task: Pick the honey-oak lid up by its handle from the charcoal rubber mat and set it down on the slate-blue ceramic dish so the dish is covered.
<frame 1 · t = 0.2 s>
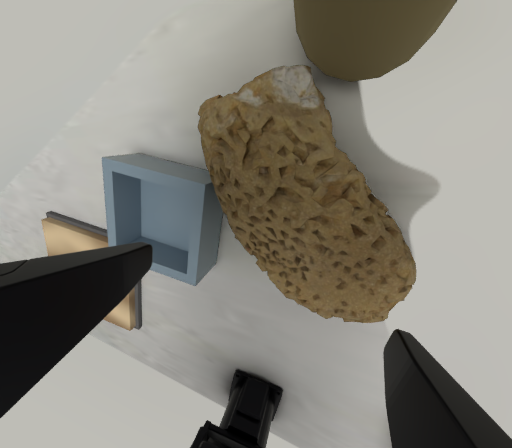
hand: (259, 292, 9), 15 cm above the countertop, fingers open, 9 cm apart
ceramic dish: (179, 210, 26), on the countertop
squeeze bottle: (361, 24, 17), on the countertop
sponge: (310, 200, 22), on the countertop
rubber mat: (98, 271, 33), on the countertop
oak lid: (94, 273, 33), point 1 cm above the countertop, touching rubber mat
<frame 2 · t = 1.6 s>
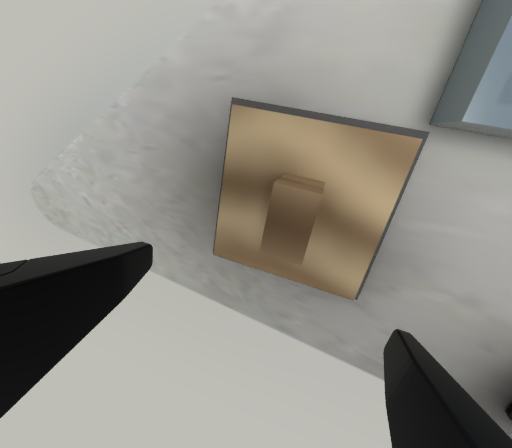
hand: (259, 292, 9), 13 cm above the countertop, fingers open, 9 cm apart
rubber mat: (299, 203, 20), on the countertop
oak lid: (298, 205, 20), point 1 cm above the countertop, touching rubber mat
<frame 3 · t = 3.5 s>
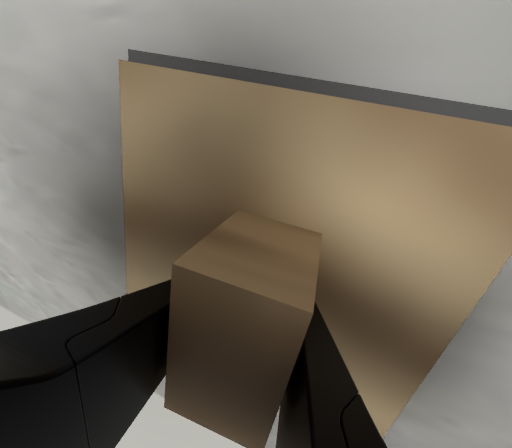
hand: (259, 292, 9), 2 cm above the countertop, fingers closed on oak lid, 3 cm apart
rubber mat: (273, 260, 11), on the countertop
oak lid: (270, 267, 10), point 1 cm above the countertop, touching gripper, rubber mat
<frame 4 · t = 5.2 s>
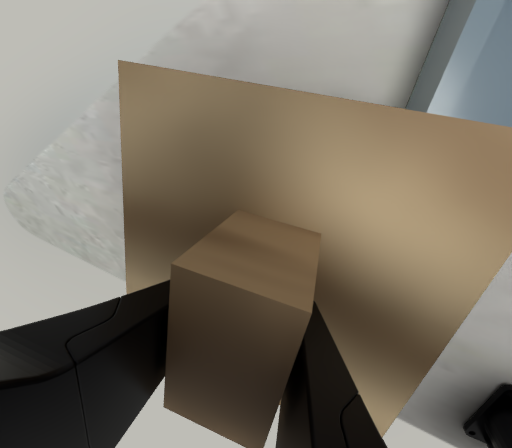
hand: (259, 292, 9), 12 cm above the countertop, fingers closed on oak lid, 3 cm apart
oak lid: (270, 267, 10), point 10 cm above the countertop, touching gripper
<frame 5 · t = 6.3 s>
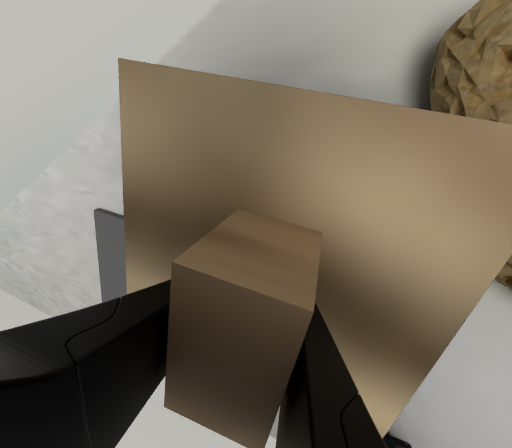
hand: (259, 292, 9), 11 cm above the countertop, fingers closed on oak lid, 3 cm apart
rubber mat: (158, 286, 26), on the countertop
oak lid: (270, 266, 10), point 9 cm above the countertop, touching gripper
when the fingers open (8 cm above the countertop, at t = 6.9 s): oak lid drops 2 cm, resting on ceramic dish, sponge.
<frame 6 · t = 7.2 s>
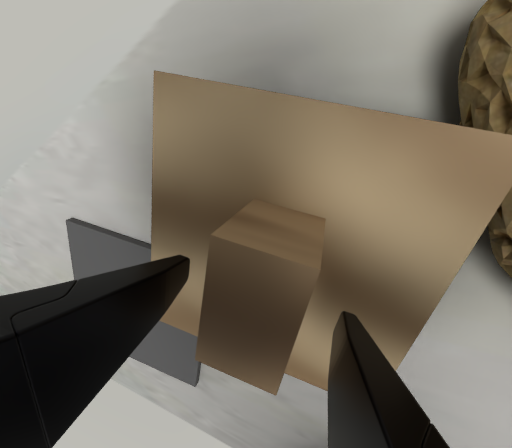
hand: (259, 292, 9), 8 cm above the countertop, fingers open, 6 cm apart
rubber mat: (139, 304, 23), on the countertop
oak lid: (280, 250, 12), point 5 cm above the countertop, touching ceramic dish, sponge
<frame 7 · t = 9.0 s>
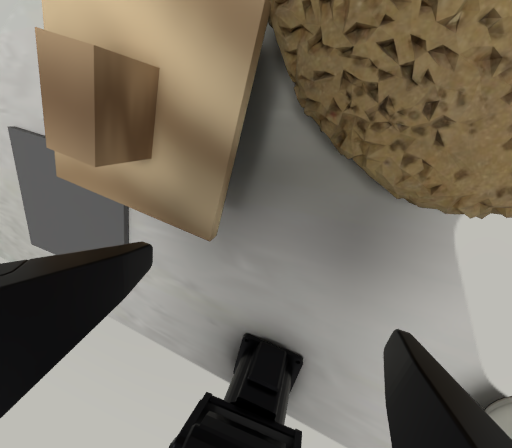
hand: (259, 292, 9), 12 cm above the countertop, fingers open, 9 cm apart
sponge: (408, 57, 15), on the countertop, touching oak lid
rubber mat: (75, 208, 27), on the countertop
oak lid: (145, 110, 15), point 5 cm above the countertop, touching sponge
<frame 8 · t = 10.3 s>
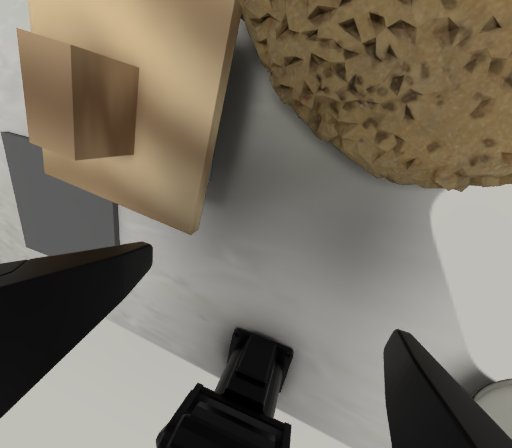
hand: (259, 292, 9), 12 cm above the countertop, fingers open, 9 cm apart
sponge: (380, 42, 15), on the countertop, touching oak lid
rubber mat: (67, 209, 27), on the countertop
oak lid: (128, 108, 16), point 5 cm above the countertop, touching sponge
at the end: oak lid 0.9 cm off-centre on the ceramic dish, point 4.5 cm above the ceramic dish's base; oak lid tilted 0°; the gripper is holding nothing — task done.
